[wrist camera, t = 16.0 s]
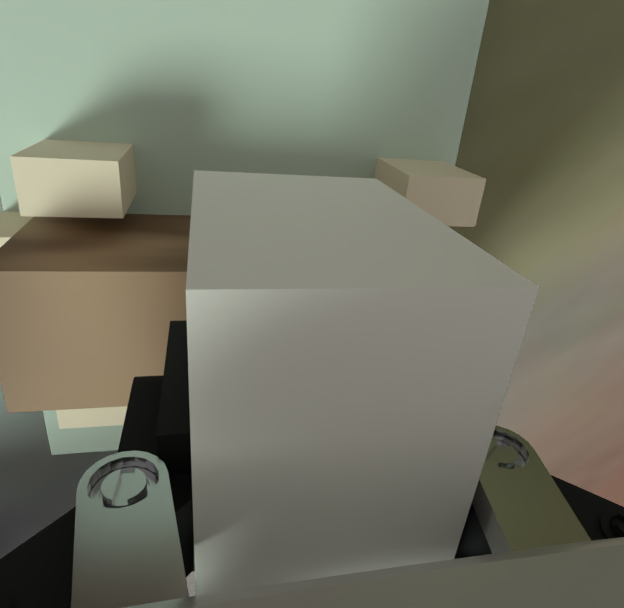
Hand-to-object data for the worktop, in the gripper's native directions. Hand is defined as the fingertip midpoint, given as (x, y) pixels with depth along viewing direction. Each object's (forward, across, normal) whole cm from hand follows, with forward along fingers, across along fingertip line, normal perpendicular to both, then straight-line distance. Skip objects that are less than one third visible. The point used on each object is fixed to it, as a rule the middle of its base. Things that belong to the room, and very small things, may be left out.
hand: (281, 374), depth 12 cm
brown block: (+7, 0, 0) cm, 7 cm away
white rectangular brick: (+1, 0, 0) cm, 1 cm away
